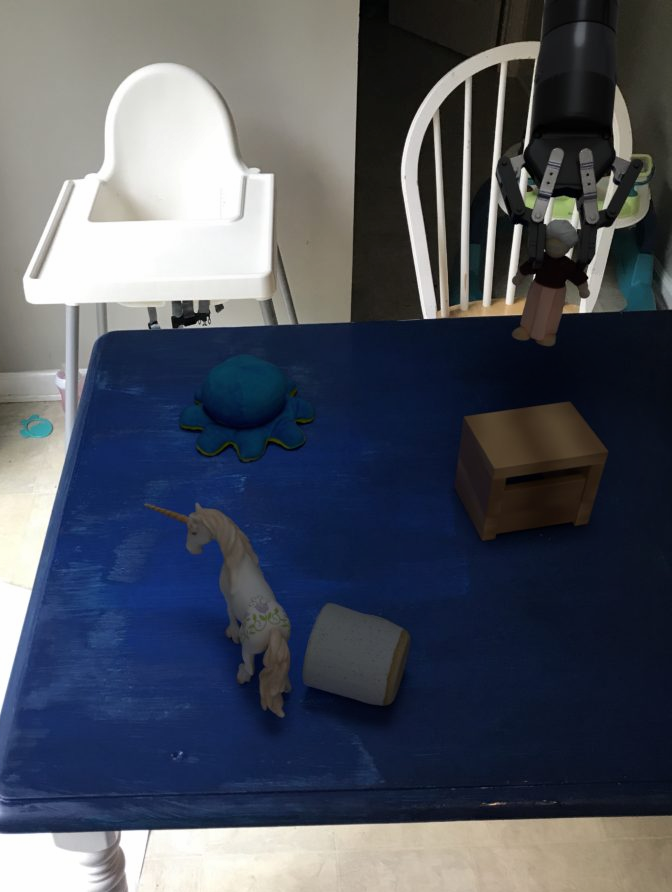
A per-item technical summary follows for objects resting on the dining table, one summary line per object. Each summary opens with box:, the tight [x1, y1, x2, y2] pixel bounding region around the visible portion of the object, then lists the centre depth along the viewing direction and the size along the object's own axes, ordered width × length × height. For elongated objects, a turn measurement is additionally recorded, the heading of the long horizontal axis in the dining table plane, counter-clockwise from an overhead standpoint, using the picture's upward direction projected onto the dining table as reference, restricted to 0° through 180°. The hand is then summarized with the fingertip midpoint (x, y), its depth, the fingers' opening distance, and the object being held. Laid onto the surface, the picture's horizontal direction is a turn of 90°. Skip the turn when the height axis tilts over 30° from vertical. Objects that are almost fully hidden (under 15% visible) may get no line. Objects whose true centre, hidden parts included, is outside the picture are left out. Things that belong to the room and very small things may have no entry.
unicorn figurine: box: [143, 502, 293, 718], centre depth 75 cm, size 7×20×13 cm, turn 36°
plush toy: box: [178, 353, 316, 463], centre depth 103 cm, size 17×17×8 cm
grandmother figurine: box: [511, 218, 591, 347], centre depth 82 cm, size 8×4×13 cm, turn 71°
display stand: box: [454, 401, 609, 542], centre depth 89 cm, size 12×9×10 cm
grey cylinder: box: [302, 602, 411, 706], centre depth 74 cm, size 11×8×8 cm
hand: (559, 266), depth 79 cm, fingers closed on grandmother figurine, 3 cm apart
